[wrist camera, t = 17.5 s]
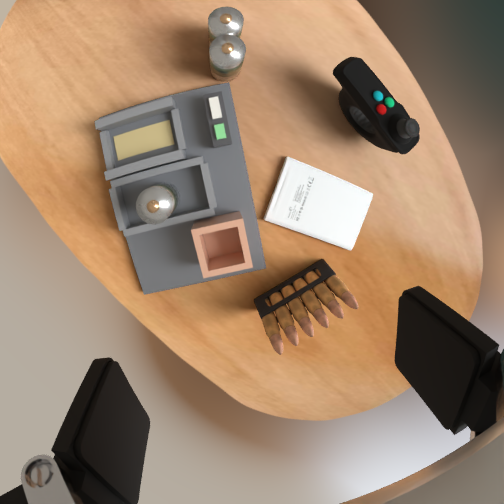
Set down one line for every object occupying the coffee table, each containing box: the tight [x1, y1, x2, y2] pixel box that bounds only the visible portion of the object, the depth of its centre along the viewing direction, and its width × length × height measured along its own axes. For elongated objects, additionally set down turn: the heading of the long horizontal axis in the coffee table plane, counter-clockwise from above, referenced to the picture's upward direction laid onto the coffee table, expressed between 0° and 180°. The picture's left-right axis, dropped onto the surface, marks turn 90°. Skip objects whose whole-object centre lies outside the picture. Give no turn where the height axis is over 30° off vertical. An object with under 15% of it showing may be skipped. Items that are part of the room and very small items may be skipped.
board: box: [95, 83, 266, 295], centre depth 32 cm, size 23×16×4 cm
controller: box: [333, 57, 420, 154], centre depth 29 cm, size 4×12×10 cm, turn 43°
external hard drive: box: [264, 157, 373, 250], centre depth 36 cm, size 2×8×12 cm
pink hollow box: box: [191, 211, 253, 278], centre depth 33 cm, size 5×5×5 cm
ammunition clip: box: [254, 259, 358, 355], centre depth 34 cm, size 11×2×12 cm, turn 120°
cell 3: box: [209, 35, 246, 82], centre depth 27 cm, size 4×4×7 cm
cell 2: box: [208, 7, 244, 45], centre depth 26 cm, size 4×4×7 cm
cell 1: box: [136, 182, 180, 225], centre depth 30 cm, size 4×4×7 cm
